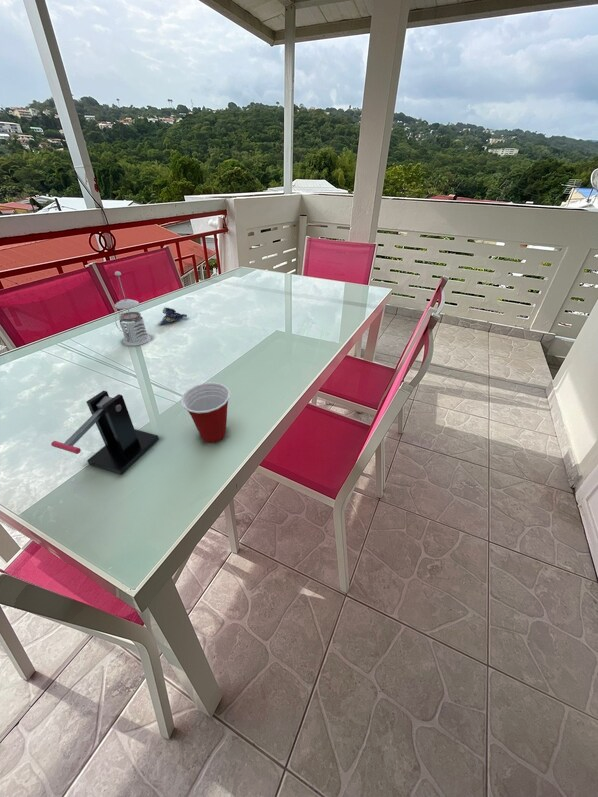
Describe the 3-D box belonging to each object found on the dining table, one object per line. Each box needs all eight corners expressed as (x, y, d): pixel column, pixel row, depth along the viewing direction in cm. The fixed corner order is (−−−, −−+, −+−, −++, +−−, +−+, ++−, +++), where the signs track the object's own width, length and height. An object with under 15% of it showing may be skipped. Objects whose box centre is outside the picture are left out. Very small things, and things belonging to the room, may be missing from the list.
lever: (79, 457, 61) (72, 449, 59) (55, 449, 62) (47, 441, 61) (125, 407, 69) (120, 399, 67) (103, 401, 71) (97, 393, 69)
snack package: (154, 318, 143) (159, 327, 134) (153, 304, 140) (158, 311, 131) (183, 318, 149) (189, 327, 140) (183, 304, 146) (189, 312, 137)
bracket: (121, 474, 70) (97, 420, 61) (88, 464, 72) (61, 410, 64) (159, 439, 79) (143, 387, 71) (128, 430, 81) (109, 379, 73)
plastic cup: (180, 441, 78) (169, 400, 72) (210, 417, 86) (203, 377, 80) (216, 457, 74) (208, 414, 68) (244, 429, 82) (239, 389, 75)
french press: (156, 336, 128) (139, 268, 113) (137, 349, 118) (115, 277, 104) (134, 333, 130) (114, 266, 115) (113, 345, 120) (89, 275, 106)
